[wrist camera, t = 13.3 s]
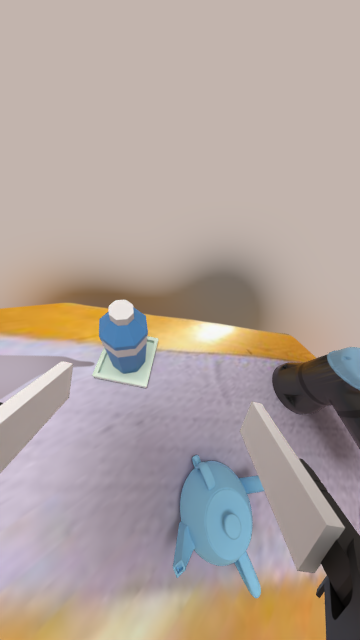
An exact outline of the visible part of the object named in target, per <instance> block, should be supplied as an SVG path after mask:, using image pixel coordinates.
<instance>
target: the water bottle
mask: <svg viewBox="0 0 360 640" xmlns="http://www.w3.org/2000/svg"><path fill="white" fill-rule="evenodd" d="M147 334H148V330H147V322H146V316H145V315H144V314H142V313H141V312H139V311H138V310H136V309H135V308H134V307H133V305H132V304H131V303H129V302H128V301H127V300H116V301H114V302H113V303H112V304H111V305H110V306H109V312H107V313H106V314H105V315H104V316H103V317H102V318H100V321H99V337H100V339H101V341H102V343H103V345H104V348H105V350H106V352H107V354H108V356H109V358H110V360H111V362H112V364H113V366H114V367H115V368H116V369H118V370H119V371H120V372H121V373H123V374H127V373H133V372H137V371H138V370H139V369H140V368H141V366H142V365H143V364H144V363H145V358H146V346H147Z"/></svg>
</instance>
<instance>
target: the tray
mask: <svg viewBox="0 0 360 640" xmlns="http://www.w3.org/2000/svg"><path fill="white" fill-rule="evenodd" d="M157 343H158V339H157V338H153V337H149V336H147V346H146V358H145V363H144V364H143V365H142V366H141V368H140V369H139V370H138V371H137V372H133V373H127V374H123V373H121V372H120V371H119V370H118V369H116V368H115V367H114V366H113V364H112V362H111V360H110V358H109V356H108V354H107V352H106V350H105V348H104V349H103V351H102V353H101V356H100V358H99V360H98V363H97V365H96V368H95V370H94V372H93V375H92V376H93V377H94V378H98V379H103V380H108V381H112V382H117V383H122V384H127V385H132V386H137V387H142V388H147V383H148V379H149V375H150V371H151V367H152V363H153V359H154V355H155V351H156V347H157Z"/></svg>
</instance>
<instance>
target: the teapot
mask: <svg viewBox="0 0 360 640" xmlns="http://www.w3.org/2000/svg"><path fill="white" fill-rule="evenodd" d="M192 461H193V465H194V467H195V468H194V469H193V470H192V471H191V473H190V474H189V476H188V477H187V479H186V481H185V483H184V486H183V489H182V493H181V499H180V516H181V522H180V523H179V528H178V535H177V542H176V549H175V556H174V563H173V569H174V571H175V574H176V577H177V578H178V577H179V576H180V575H181V574H182V573H183V572H184V571H185V570H186V566H187V564H188V561H189V559H190V557H191V554H192V552H193V550H195V552H196V553H197V554H198V555H199V556H200V557H201V558H203V559H204V560H205V561H207V562H209V563H211V564H214V565H217V566H226V565H230V564H232V563H235V565H236V567H237V569H238V571H239V573H240V575H241V577H242V579H243V581H244V583H245V585H246V586H247V588H248V590H249V592H250V593H251V595H252V596H253V597H254V598H258V597H259V596H260V594H261V588H260V584H259V581H258V578H257V576H256V573H255V571H254V568H253V566H252V564H251V561H250V559H249V557H248V555H247V552H246V550H247V548H248V546H249V543H250V540H251V535H252V511H251V506H250V501H249V498H248V495H247V494H250V493H256V492H261V491H264V488H263V486H262V484H261V481H260V479H259V476H251V477H244V478H238V477H237V475H236V474H235V473H234V472H233V471H232V470H231V469H230V468H229V467H227V466H226V465H224V464H222V463H220V462H217V461H207V462H201V461H200V458H199V456H198V455H195V456H193V458H192Z"/></svg>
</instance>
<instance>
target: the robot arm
mask: <svg viewBox="0 0 360 640" xmlns="http://www.w3.org/2000/svg"><path fill="white" fill-rule="evenodd" d="M72 369H73V364H72V363H68V362H63V361H62V362H60V363H59V364H58V365H56V366H55V367H53V368H52V369H50V370H49V371H48V372H46V373H45V374H43V375H42V376H41V377H39V378H38V379H37V380H35V381H34V382H32V383H31V384H30V385H28V386H27V387H25V388H24V389H23V390H21V391H20V392H19V393H17V394H16V395H14V396H13V397H12V398H10V399H9V400H7V401H6V402H5V403H0V473H1V472H2V471H3V470H4V469H5V468H6V467H7V465H8V464H9V463H10V462H11V461H12V460H13V459H14V458H15V457H16V456H17V454H18V453H19V452H20V451H21V450H22V449H23V448H24V447H25V446H26V444H27V443H28V442H29V441H30V440H31V439H32V438H33V437H34V436H35V435H36V433H37V432H38V431H39V430H40V429H41V428H42V427H43V426H44V425H45V423H46V422H47V421H48V420H49V419H50V418H51V417H52V416H53V415H54V414H55V412H56V411H57V410H58V409H59V408H60V407H61V406H62V405H63V404H64V402H65V401H66V400H67V399H68V398H69V394H70V386H71V377H72ZM273 386H274V389H275V392H276V394H277V396H278V398H279V399H280V401H281V402H282V403H283V404H284V405H285V406H286V407H287V408H288V409H290V410H291V411H293V412H295V413H298V414H312V413H315V412H317V411H319V410H320V409H322V408H324V407H325V406H327V405H332V406H333V407H334V409H335V410H336V412H337V413H338V415H339V417H340V418H341V420H342V421H343V423H344V425H345V426H346V428H347V429H348V431H349V433H350V434H351V436H352V437H353V439H354V441H355V442H356V444H357V445H358V447H359V449H360V348H355V347H350V348H345V349H341V350H338V351H332V352H330V353H329V354H328V355H325V356H322V357H319V358H316V359H313V360H310V361H308V362H305V363H285V364H283V365H280V366H279V367H277V368H276V369H275V371H274V374H273ZM240 433H241V435H242V438H243V440H244V442H245V445H246V447H247V450H248V452H249V455H250V457H251V459H252V462H253V464H254V467H255V469H256V471H257V474H258V476H259V479H260V481H261V484H262V486H263V488H264V491H265V493H266V496H267V498H268V501H269V503H270V505H271V508H272V510H273V513H274V515H275V518H276V520H277V522H278V525H279V527H280V530H281V532H282V535H283V537H284V539H285V542H286V544H287V547H288V549H289V552H290V554H291V556H292V559H293V561H294V564H295V566H296V569H297V571H303V572H310V573H315V572H316V570H317V569H318V567H319V566H320V564H322V566H323V568H324V570H325V572H326V574H327V576H326V577H325V579H324V580H323V582H322V583H321V584H320V586H319V587H318V589H317V593H316V595H317V596H318V597H319V598H320V597H321V595H322V594H323V593H324V592H325V616H326V640H360V536H359V534H358V533H357V532H356V530H355V529H354V527H353V526H352V525H351V523H350V522H349V520H348V519H347V518H346V516H345V515H344V513H343V512H342V511H341V509H340V508H339V506H338V505H337V503H336V502H335V501H334V499H333V498H332V496H331V495H330V494H329V493H328V492H327V489H326V488H325V487H324V485H323V484H322V483H321V482H320V479H319V478H318V477H317V475H316V474H315V472H314V471H313V470H312V469H311V468H310V467H309V466H308V464H307V463H306V462H305V461H304V460H303V459H299V458H298V457H297V456H296V454H295V453H294V451H293V450H292V448H291V447H290V445H289V444H288V442H287V441H286V439H285V438H284V436H283V435H282V433H281V432H280V430H279V429H278V428H277V426H276V425H275V423H274V422H273V420H272V419H271V417H270V416H269V414H268V413H267V411H266V410H265V408H264V407H263V405H262V404H261V403H256V402H251V405H250V407H249V410H248V412H247V415H246V417H245V420H244V422H243V424H242V427H241V429H240Z"/></svg>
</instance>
